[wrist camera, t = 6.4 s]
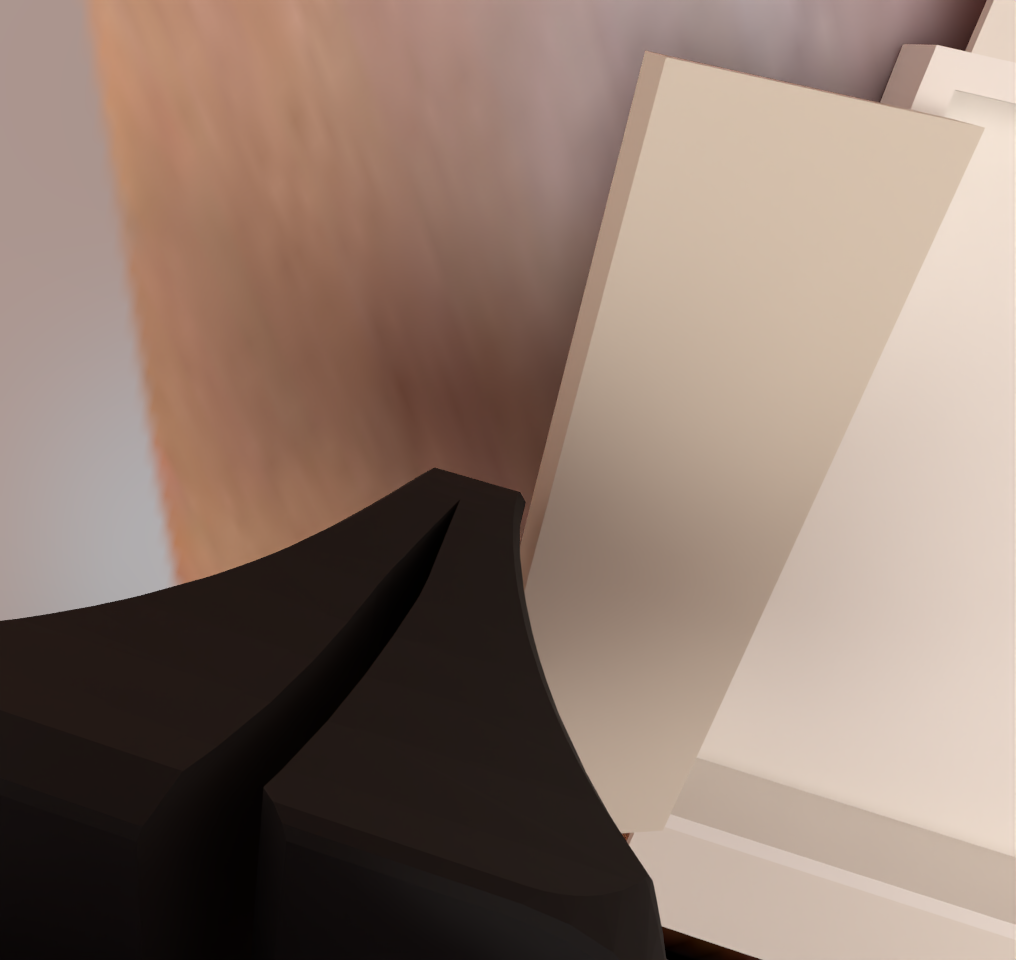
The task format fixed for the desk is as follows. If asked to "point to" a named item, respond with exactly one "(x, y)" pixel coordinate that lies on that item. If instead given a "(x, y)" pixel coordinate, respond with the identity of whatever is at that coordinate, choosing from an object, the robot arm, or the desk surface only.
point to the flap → (713, 393)
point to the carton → (887, 623)
